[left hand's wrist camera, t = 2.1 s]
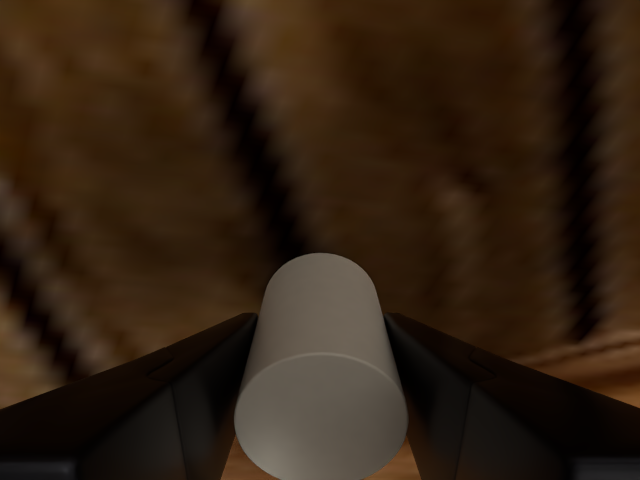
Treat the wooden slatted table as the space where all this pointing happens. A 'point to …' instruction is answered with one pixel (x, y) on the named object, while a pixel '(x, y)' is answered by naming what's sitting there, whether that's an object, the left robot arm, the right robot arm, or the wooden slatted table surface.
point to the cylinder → (321, 376)
